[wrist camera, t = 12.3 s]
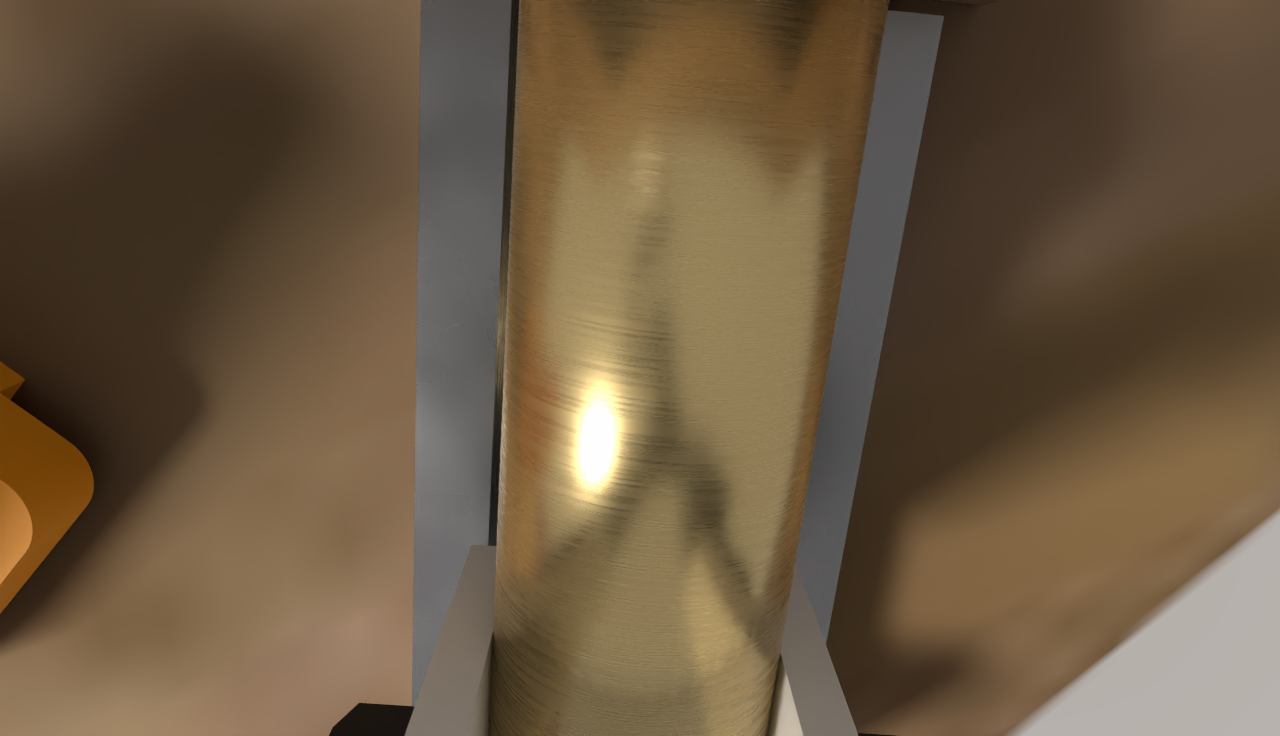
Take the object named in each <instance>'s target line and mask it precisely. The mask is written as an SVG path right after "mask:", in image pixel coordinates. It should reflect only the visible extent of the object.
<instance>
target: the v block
mask: <svg viewBox="0 0 1280 736" xmlns="http://www.w3.org/2000/svg"><path fill="white" fill-rule="evenodd" d="M943 19H944V16H941V15H931V14H921V13H912V12H902V11H892V10H888V12H887V18H886V24H885V30H884V36H883V42H882V48H881V54H880V60H879V66H878V72H877V78H876V84H875V90H874V96H873V102H872V108H871V114H870V120H869V126H868V132H867V138H866V144H865V150H864V156H863V162H862V168H861V174H860V180H859V186H858V192H857V198H856V203H855V209H854V215H853V221H852V227H851V233H850V239H849V245H848V251H847V257H846V263H845V269H844V275H843V281H842V287H841V293H840V299H839V305H838V311H837V317H836V323H835V329H834V335H833V341H832V347H831V353H830V359H829V365H828V371H827V377H826V383H825V389H824V395H823V401H822V407H821V413H820V419H819V425H818V431H817V437H816V443H815V449H814V455H813V461H812V467H811V472H810V478H809V484H808V490H807V496H806V502H805V508H804V514H803V520H802V526H801V532H800V538H799V544H798V550H797V556H796V562H795V568H798V569H799V572H800V574H801V577H802V580H803V583H804V586H805V588H806V591H807V594H808V597H809V599H810V602H811V605H812V608H813V611H814V613H815V616H816V619H817V622H818V624H819V627H820V630H821V633H822V636H823V638H824V641H825V644H826V641H827V636H828V631H829V626H830V620H831V615H832V610H833V604H834V599H835V594H836V588H837V583H838V578H839V572H840V567H841V562H842V556H843V551H844V546H845V540H846V535H847V530H848V525H849V519H850V514H851V509H852V503H853V498H854V493H855V487H856V482H857V477H858V471H859V466H860V461H861V455H862V450H863V445H864V439H865V434H866V429H867V424H868V418H869V413H870V408H871V402H872V397H873V392H874V386H875V381H876V376H877V370H878V365H879V360H880V354H881V349H882V344H883V338H884V333H885V328H886V322H887V317H888V312H889V307H890V301H891V296H892V291H893V285H894V280H895V275H896V269H897V264H898V259H899V253H900V248H901V243H902V237H903V232H904V227H905V221H906V216H907V211H908V206H909V200H910V195H911V190H912V184H913V179H914V174H915V168H916V163H917V158H918V152H919V147H920V142H921V136H922V131H923V126H924V120H925V115H926V110H927V105H928V99H929V94H930V89H931V83H932V78H933V73H934V67H935V62H936V57H937V51H938V46H939V41H940V35H941V30H942V25H943ZM518 20H519V0H421V45H420V123H419V201H418V280H417V358H416V437H415V515H414V594H413V672H412V706H414V707H415V704H416V701H417V699H418V696H419V693H420V690H421V687H422V684H423V682H424V679H425V676H426V673H427V670H428V667H429V664H430V662H431V659H432V656H433V653H434V650H435V647H436V645H437V642H438V639H439V636H440V633H441V630H442V628H443V625H444V622H445V619H446V616H447V613H448V610H449V608H450V605H451V602H452V599H453V596H454V593H455V591H456V588H457V585H458V582H459V579H460V576H461V573H462V571H463V568H464V565H465V562H466V559H467V556H468V554H469V551H470V548H471V545H485V546H497V522H498V498H499V474H500V451H501V427H502V403H503V379H504V355H505V331H506V307H507V283H508V259H509V235H510V211H511V187H512V163H513V140H514V116H515V92H516V68H517V44H518Z"/></svg>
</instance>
